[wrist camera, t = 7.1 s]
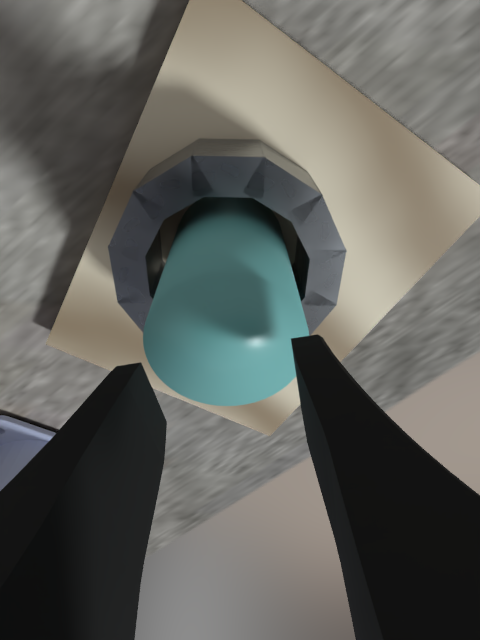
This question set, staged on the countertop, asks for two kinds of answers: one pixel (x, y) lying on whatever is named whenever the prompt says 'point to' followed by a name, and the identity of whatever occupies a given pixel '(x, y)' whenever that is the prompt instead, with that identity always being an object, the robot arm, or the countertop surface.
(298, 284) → the grey faceted ring
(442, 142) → the countertop surface
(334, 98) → the pale board
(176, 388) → the teal plug
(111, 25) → the countertop surface
